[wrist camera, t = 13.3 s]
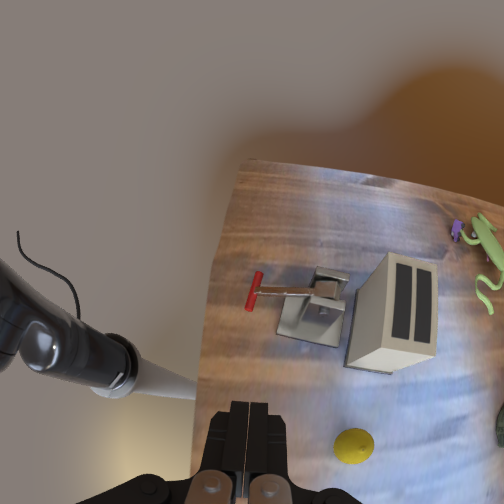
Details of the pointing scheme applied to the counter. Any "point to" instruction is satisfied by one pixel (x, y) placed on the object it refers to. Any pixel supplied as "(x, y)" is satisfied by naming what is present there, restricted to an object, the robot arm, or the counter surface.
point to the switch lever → (291, 291)
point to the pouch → (500, 428)
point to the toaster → (394, 316)
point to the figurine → (490, 246)
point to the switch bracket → (315, 313)
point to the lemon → (353, 446)
